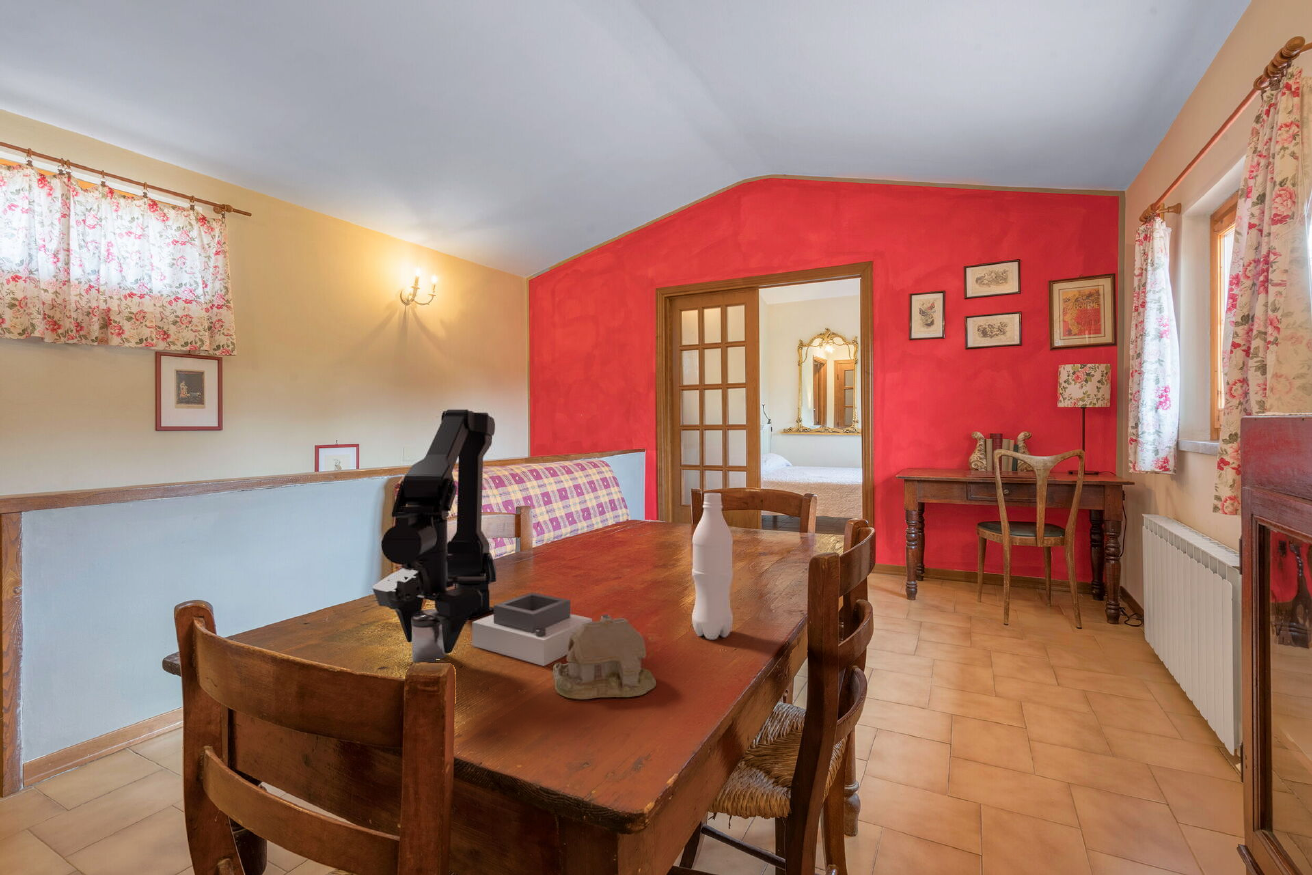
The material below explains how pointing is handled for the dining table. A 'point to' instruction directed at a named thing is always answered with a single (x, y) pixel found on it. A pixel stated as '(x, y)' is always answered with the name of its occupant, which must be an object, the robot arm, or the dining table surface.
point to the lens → (427, 637)
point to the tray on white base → (528, 628)
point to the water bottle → (712, 571)
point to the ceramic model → (604, 662)
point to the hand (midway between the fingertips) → (429, 647)
